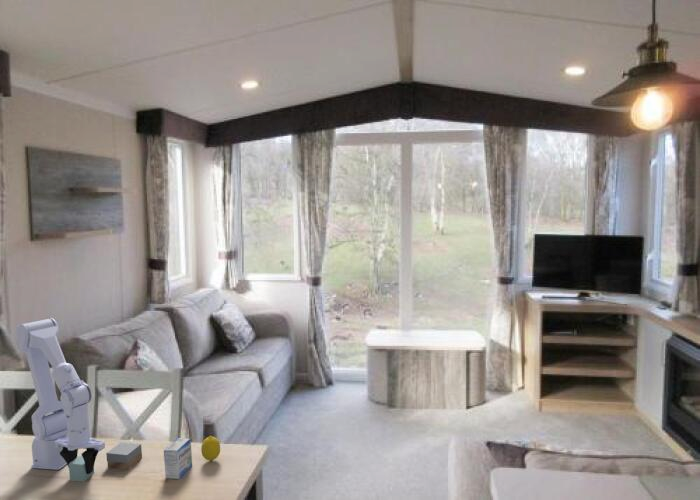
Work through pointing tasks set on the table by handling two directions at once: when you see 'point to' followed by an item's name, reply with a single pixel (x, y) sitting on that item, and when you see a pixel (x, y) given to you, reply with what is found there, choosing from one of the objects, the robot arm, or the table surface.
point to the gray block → (124, 452)
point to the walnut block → (124, 465)
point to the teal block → (78, 470)
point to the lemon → (210, 448)
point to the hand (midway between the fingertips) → (81, 471)
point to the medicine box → (178, 458)
